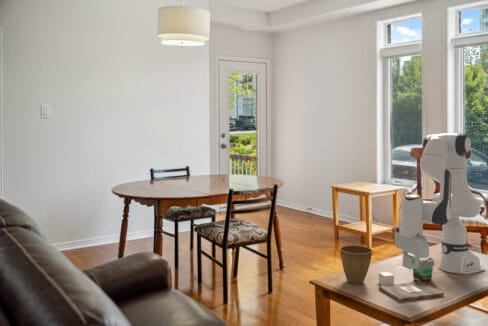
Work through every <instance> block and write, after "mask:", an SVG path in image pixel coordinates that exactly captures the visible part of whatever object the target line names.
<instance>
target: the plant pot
mask: <svg viewBox="0 0 488 326" xmlns="http://www.w3.org/2000/svg"><path fill="white" fill-rule="evenodd" d="M339 249H340V260H341V265H342V269H343V272H344V275H345V276H344V277H345V279H346V281H347V283H348V284H351V285H362V284H364V282H365V280H366V277H367V274H368V272H369V268H370V265H371V261H372V260H371V259H372V255H373V249H372V248H370V247H368V246H363V245H353V244H352V245H342V246H341V247H340V248H339Z"/></svg>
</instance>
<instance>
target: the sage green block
mask: <svg viewBox="0 0 488 326" xmlns="http://www.w3.org/2000/svg"><path fill="white" fill-rule="evenodd" d="M414 259H415V257H414V254H411V253H408V254H407V255H402V267H404V268H405V269H408V270H413V269H416V268H419V261H420V260H421V258H420V259H419V261H418V265H414V264H413V260H414Z"/></svg>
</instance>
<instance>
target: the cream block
mask: <svg viewBox="0 0 488 326" xmlns="http://www.w3.org/2000/svg"><path fill="white" fill-rule="evenodd" d="M378 284H380V286H384V285H393V284H395V274H393V273H391V272H389V271H384V272H378Z"/></svg>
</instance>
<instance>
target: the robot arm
mask: <svg viewBox="0 0 488 326" xmlns="http://www.w3.org/2000/svg"><path fill="white" fill-rule="evenodd" d="M471 146H472V142H471V138H470V137H469V136H468V134H466V133H461V132H460V133H453V132H451V133H450V132H446V133H435V134H434V133H431V134H428V135H426V136H425V137H424V138H423V142H422V150H423V152H422V154H421V159H420V162H419V167H420V171H421V172H422V174H423V175H424V176H425V177H427V178H429V179H431V180H433V181H435V182H437V183H438V184H439V192H438V193H435V194H434V195H433V197H432V200H426V199H425V200H424V199H423V196H422V195H420V194H418V193H417V194H416V193H411V194H407V195H405V196H404V197H403V201H402V203H401V204H402V206H401V218H402V221H401V226H395V227H394V232H395V233H394V245H395V247H396V248H398V249H400V250H402V254H403V255H407V254H414V257H415V259H414V260H413V264H414V265H418V261H420V260H421V259H425V258H429V256H430V247H429V246H430V245H429V241H428V238H427V237H426V236H425V235H423V229H424V227H423V225H424V224H423V223H427V224H433V225H438V226H441V227H442V240H441V246H440V247H441V255H440V260H439V264H438V269H439V270H441V271H443V272H448V273H454V274H461V275H465V276H466V275H471V274H475V273H480V272H485V270H486V267H484V266H482V265H481V261H480V258H479V256H478V255H477V254H475V253H474V252H473V251H472V250H470V248H471V249H473V248H474V244H473V243H470V242H469V243H468V242H467V230H468V229H467V226H466V225H465V224H464V223H463V222H462V221H461V219H460V218H465V219H466V218H468V219H469V218H475V217H477V216H478V215H479V214H480V213H481V208H482V207H481V206H482V205H481V202H480V201H479V200H478V199H477V198H476V196H475V195H474V194H473V193H472V191H471V188H470V186H469V183H468V176H467V159H466V155H468V154H469V152H470V151H471ZM403 255H402V256H403ZM419 259H420V260H419Z"/></svg>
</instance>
